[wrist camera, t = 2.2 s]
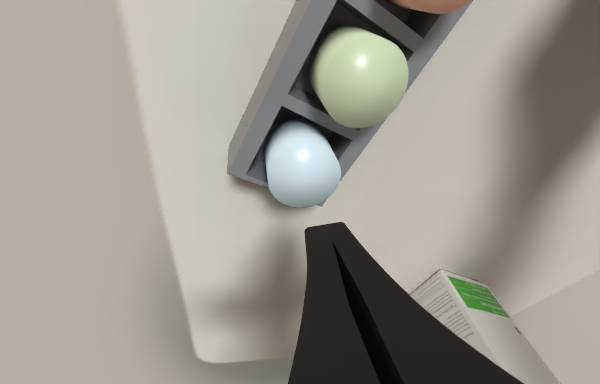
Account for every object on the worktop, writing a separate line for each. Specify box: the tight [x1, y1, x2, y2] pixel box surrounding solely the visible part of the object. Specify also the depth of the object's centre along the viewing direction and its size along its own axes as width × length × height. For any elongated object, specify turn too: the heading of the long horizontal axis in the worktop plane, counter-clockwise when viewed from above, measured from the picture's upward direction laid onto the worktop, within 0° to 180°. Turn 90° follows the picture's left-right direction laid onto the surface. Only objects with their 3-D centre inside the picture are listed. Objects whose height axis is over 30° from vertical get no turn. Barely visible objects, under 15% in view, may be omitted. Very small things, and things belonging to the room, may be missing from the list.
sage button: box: [308, 25, 408, 128], centre depth 12 cm, size 4×4×3 cm
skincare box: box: [410, 270, 560, 384], centre depth 26 cm, size 8×7×16 cm
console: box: [227, 0, 473, 207], centre depth 13 cm, size 6×20×3 cm, turn 150°
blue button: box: [264, 119, 341, 208], centre depth 15 cm, size 4×4×3 cm
